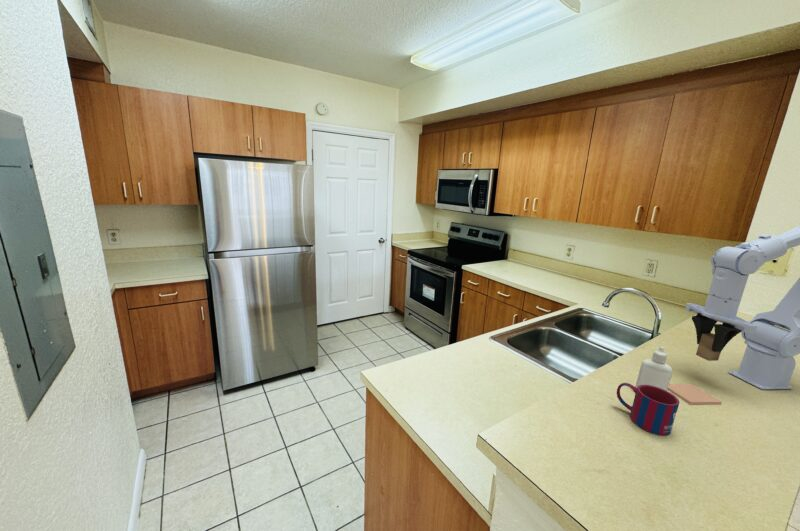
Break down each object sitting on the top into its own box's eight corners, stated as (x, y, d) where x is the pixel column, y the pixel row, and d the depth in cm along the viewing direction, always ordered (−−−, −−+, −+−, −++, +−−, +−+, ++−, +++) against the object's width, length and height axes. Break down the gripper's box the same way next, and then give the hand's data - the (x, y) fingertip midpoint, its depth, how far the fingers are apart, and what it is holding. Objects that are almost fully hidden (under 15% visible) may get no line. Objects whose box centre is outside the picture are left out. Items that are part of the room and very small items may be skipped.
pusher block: (705, 354, 84) (712, 333, 83) (718, 360, 81) (725, 338, 80) (695, 354, 83) (702, 333, 82) (708, 360, 81) (714, 338, 79)
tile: (692, 384, 81) (663, 384, 80) (721, 401, 74) (690, 402, 73) (690, 388, 81) (661, 388, 80) (720, 406, 74) (689, 406, 73)
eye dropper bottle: (657, 402, 73) (671, 354, 70) (631, 388, 78) (643, 343, 75) (667, 398, 75) (681, 351, 72) (641, 385, 80) (653, 340, 77)
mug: (661, 440, 61) (670, 409, 60) (607, 409, 70) (613, 381, 68) (676, 428, 65) (685, 399, 63) (622, 400, 73) (629, 373, 72)
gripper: (681, 287, 85) (668, 334, 88) (745, 307, 71) (727, 362, 74) (703, 287, 86) (690, 334, 89) (771, 307, 72) (752, 362, 75)
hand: (708, 347), depth 82 cm, fingers closed on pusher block, 3 cm apart
